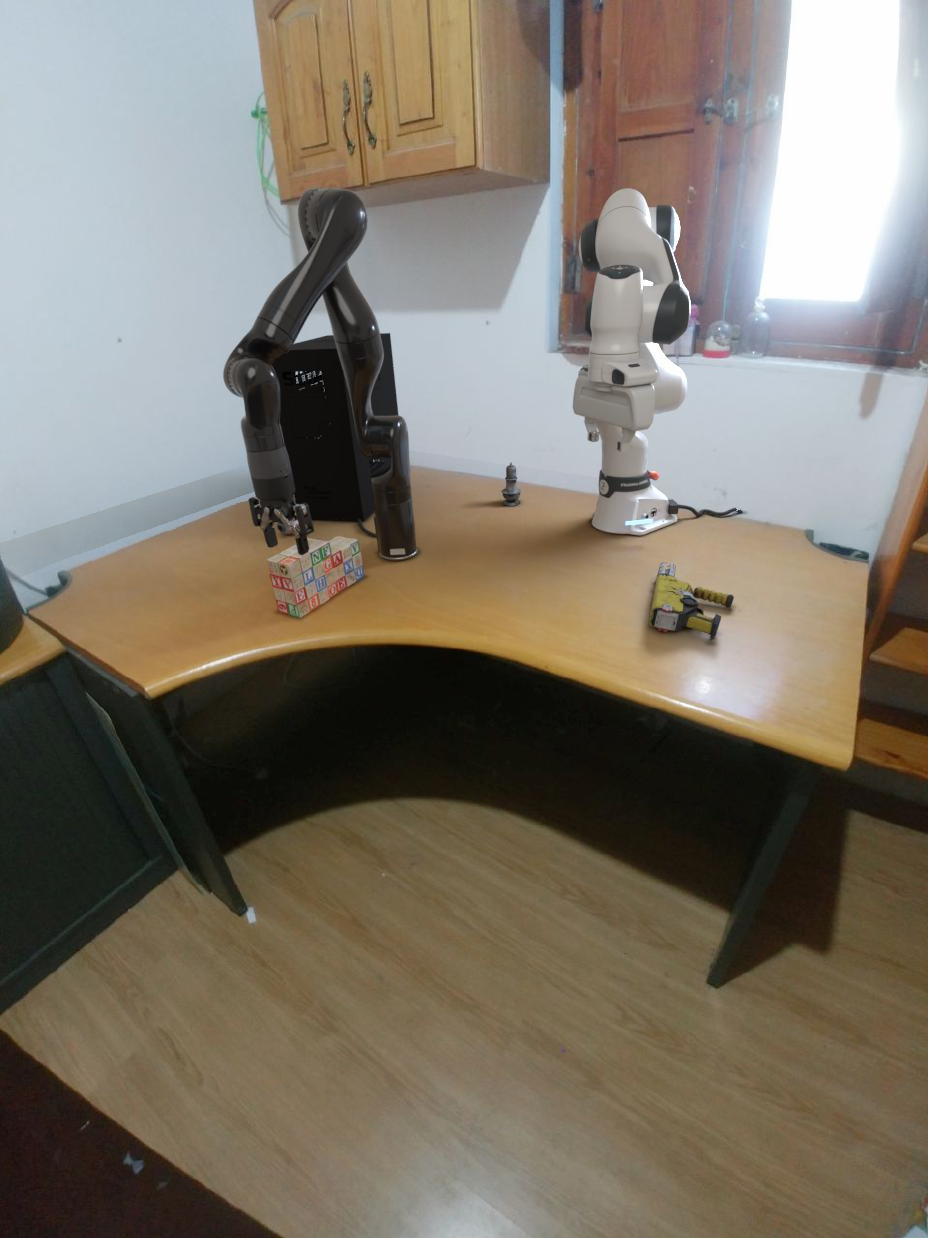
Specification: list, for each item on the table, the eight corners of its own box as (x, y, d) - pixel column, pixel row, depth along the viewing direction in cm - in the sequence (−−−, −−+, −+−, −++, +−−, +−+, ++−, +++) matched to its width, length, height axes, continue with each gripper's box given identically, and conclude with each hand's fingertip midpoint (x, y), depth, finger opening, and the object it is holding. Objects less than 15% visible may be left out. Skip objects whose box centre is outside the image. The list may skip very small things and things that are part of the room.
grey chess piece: (520, 506, 175) (520, 465, 169) (500, 505, 176) (499, 465, 170) (522, 499, 180) (522, 459, 174) (503, 499, 181) (502, 459, 175)
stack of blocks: (344, 571, 142) (336, 522, 136) (365, 576, 139) (357, 526, 133) (278, 612, 127) (265, 558, 120) (299, 618, 124) (288, 564, 118)
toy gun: (734, 572, 125) (660, 559, 129) (740, 625, 105) (652, 607, 109) (728, 592, 127) (655, 579, 131) (733, 648, 107) (647, 630, 111)
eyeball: (273, 537, 164) (268, 516, 161) (287, 528, 169) (282, 508, 166) (291, 539, 161) (286, 518, 158) (305, 530, 166) (301, 510, 163)
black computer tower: (364, 521, 170) (339, 348, 148) (298, 518, 175) (265, 350, 152) (405, 480, 202) (390, 332, 180) (349, 479, 207) (327, 335, 184)
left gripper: (229, 472, 114) (249, 551, 122) (283, 481, 107) (301, 563, 116) (259, 461, 119) (276, 537, 128) (312, 469, 113) (327, 548, 121)
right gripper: (566, 365, 116) (563, 437, 123) (634, 377, 100) (627, 460, 107) (593, 361, 118) (589, 433, 125) (664, 373, 102) (655, 454, 109)
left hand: (288, 549), depth 122 cm, fingers open, 8 cm apart
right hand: (607, 445), depth 116 cm, fingers open, 8 cm apart
